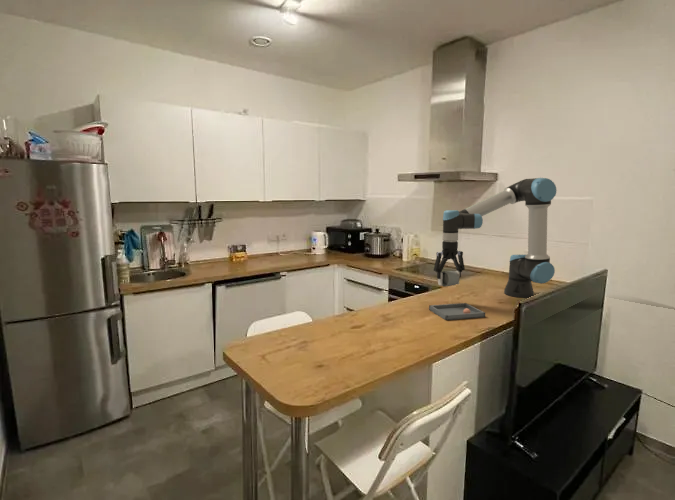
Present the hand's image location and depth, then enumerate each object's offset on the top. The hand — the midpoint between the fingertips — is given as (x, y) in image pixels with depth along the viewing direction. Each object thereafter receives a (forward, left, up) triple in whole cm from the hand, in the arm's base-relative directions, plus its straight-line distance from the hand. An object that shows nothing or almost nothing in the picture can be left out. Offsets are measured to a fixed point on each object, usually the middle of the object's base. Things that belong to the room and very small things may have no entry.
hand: (448, 284), depth 191 cm
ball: (+2, +20, -10) cm, 23 cm away
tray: (+4, +15, -10) cm, 19 cm away
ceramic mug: (+1, -1, -1) cm, 1 cm away
